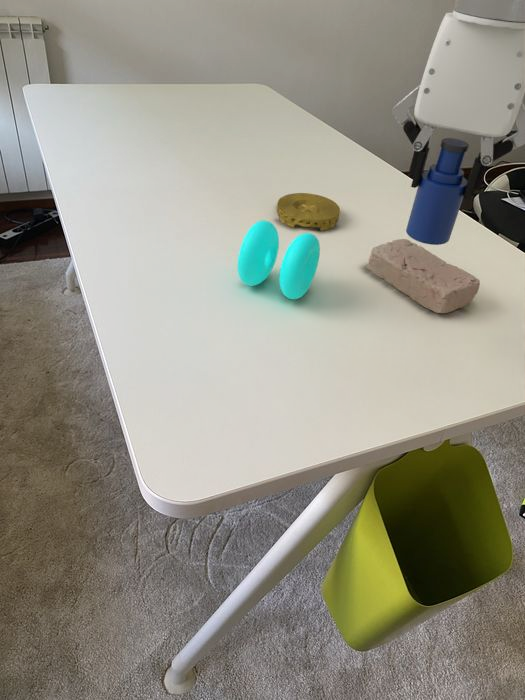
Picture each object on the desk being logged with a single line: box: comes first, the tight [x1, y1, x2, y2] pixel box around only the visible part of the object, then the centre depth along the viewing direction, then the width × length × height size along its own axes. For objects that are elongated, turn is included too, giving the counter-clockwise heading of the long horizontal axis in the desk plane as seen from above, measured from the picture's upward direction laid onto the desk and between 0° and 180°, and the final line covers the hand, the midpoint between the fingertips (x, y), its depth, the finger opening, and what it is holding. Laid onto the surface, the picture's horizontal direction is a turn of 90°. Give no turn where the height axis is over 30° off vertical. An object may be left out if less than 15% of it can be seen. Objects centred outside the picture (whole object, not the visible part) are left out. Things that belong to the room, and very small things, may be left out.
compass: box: [276, 192, 341, 232], centre depth 106 cm, size 12×12×2 cm
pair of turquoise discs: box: [237, 220, 321, 300], centre depth 82 cm, size 10×10×10 cm
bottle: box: [405, 137, 470, 246], centre depth 63 cm, size 5×5×11 cm
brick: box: [366, 238, 481, 314], centre depth 88 cm, size 17×8×5 cm, turn 35°
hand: (441, 187), depth 63 cm, fingers closed on bottle, 5 cm apart
